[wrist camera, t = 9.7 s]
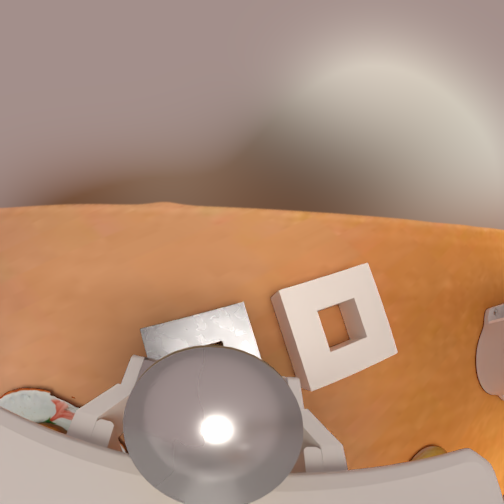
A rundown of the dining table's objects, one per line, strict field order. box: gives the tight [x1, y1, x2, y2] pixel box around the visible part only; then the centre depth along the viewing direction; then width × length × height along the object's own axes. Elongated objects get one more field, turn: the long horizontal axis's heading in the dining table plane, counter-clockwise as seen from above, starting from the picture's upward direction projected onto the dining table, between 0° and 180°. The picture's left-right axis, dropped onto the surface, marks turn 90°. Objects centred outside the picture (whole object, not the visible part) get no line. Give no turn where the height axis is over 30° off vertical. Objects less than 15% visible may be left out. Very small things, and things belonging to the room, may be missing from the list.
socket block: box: [140, 302, 262, 360], centre depth 34 cm, size 12×12×4 cm
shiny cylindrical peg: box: [123, 345, 303, 504], centre depth 12 cm, size 4×4×15 cm
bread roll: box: [411, 446, 447, 461], centre depth 32 cm, size 8×9×4 cm
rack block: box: [271, 263, 398, 391], centre depth 37 cm, size 12×12×5 cm
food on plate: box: [0, 388, 126, 453], centre depth 25 cm, size 25×25×7 cm
